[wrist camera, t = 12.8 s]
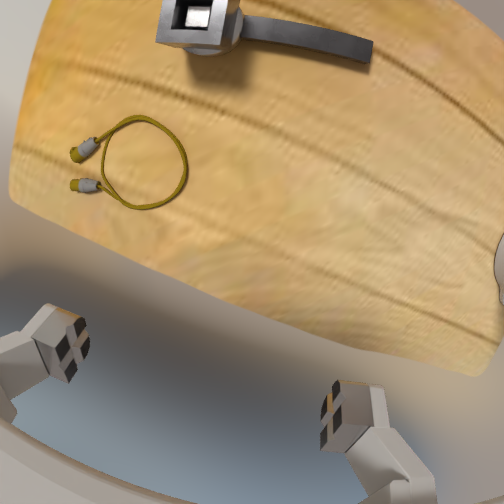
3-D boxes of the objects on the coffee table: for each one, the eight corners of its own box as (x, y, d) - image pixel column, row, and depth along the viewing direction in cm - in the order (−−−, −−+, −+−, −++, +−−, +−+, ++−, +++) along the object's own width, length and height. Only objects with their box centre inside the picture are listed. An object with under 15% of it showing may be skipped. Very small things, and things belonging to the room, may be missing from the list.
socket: (239, 0, 23) (231, -15, 19) (230, 51, 26) (219, 45, 22) (183, -3, 23) (166, -15, 19) (174, 47, 26) (155, 42, 22)
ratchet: (371, 24, 25) (386, 14, 20) (360, 84, 28) (374, 84, 23) (185, -3, 25) (167, -17, 20) (175, 54, 29) (155, 50, 24)
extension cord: (88, 96, 32) (78, 97, 30) (203, 135, 33) (198, 138, 32) (69, 184, 38) (61, 189, 36) (171, 227, 39) (165, 234, 37)
